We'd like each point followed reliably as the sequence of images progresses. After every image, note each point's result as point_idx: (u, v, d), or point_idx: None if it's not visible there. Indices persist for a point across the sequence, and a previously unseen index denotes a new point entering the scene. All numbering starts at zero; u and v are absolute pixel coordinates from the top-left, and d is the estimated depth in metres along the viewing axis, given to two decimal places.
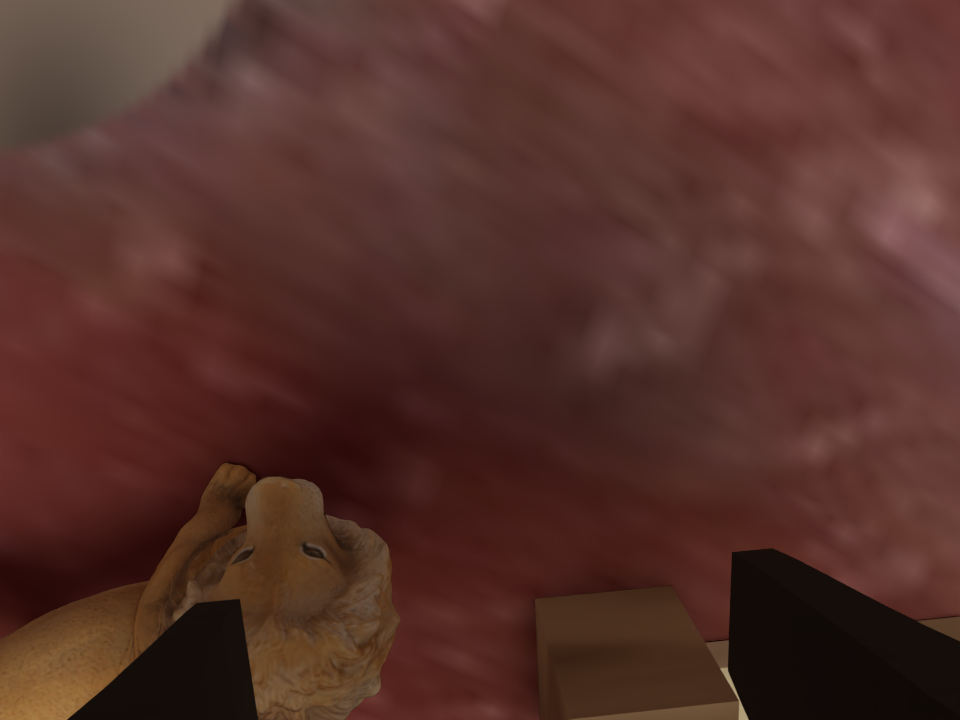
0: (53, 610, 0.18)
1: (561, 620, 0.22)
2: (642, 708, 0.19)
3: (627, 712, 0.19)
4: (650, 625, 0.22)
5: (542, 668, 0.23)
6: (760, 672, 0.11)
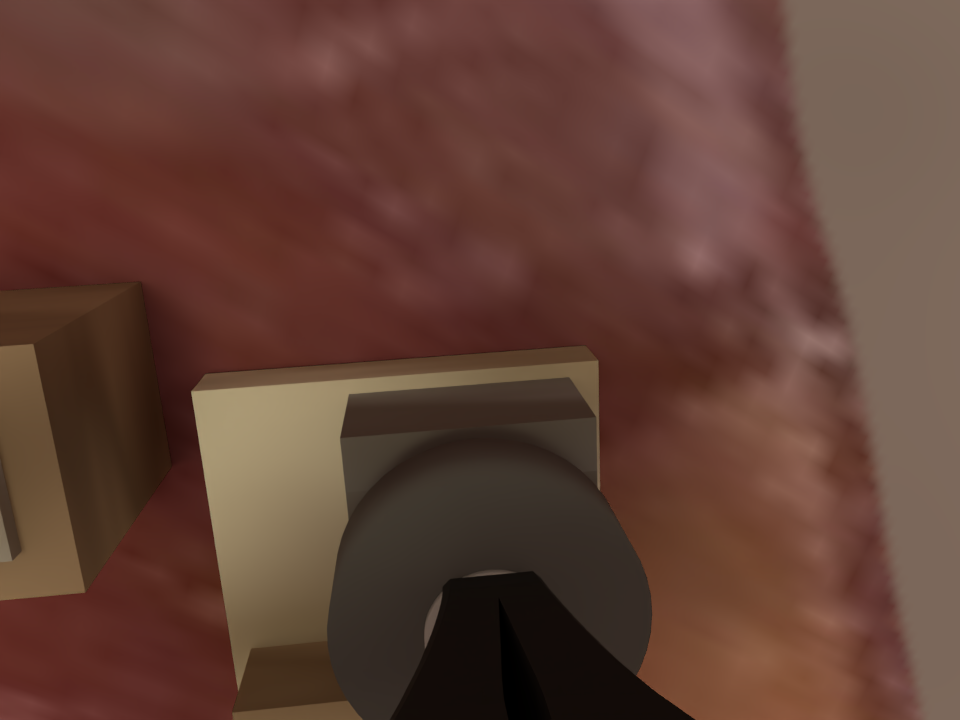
0: None
1: None
2: None
3: None
4: (42, 304, 0.14)
5: None
6: (505, 699, 0.11)
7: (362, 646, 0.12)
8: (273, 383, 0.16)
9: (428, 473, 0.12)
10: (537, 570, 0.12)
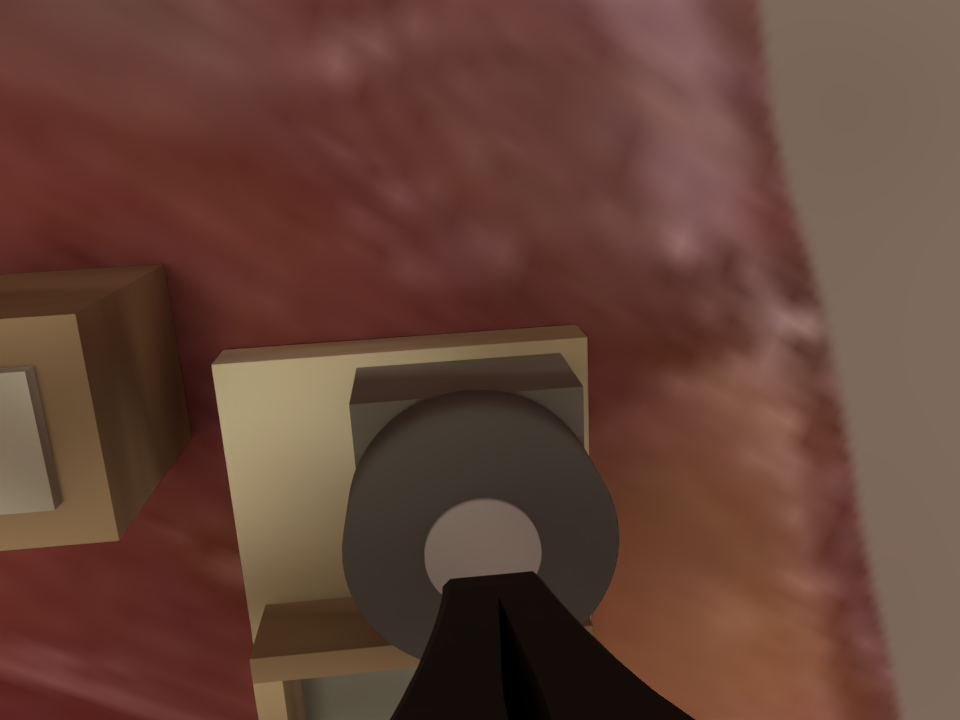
0: None
1: None
2: None
3: None
4: (77, 282, 0.16)
5: None
6: (505, 699, 0.11)
7: (372, 563, 0.14)
8: (286, 357, 0.17)
9: (428, 416, 0.14)
10: (520, 498, 0.14)
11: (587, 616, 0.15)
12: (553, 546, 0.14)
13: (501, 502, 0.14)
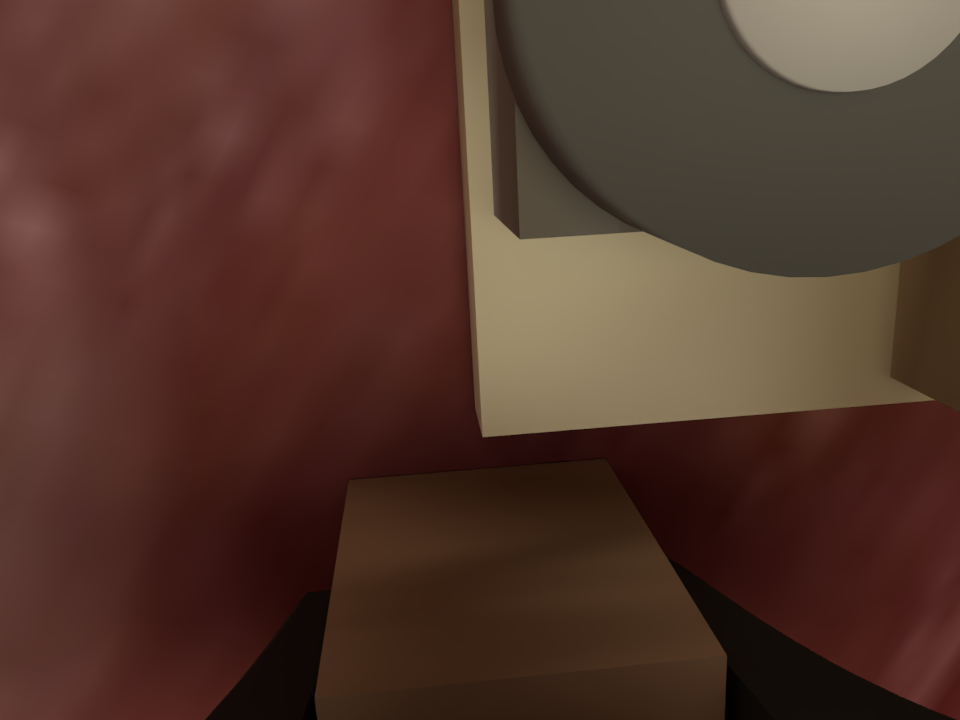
0: None
1: None
2: None
3: None
4: None
5: None
6: None
7: (837, 212, 0.06)
8: (475, 325, 0.11)
9: (524, 79, 0.07)
10: None
11: None
12: None
13: None
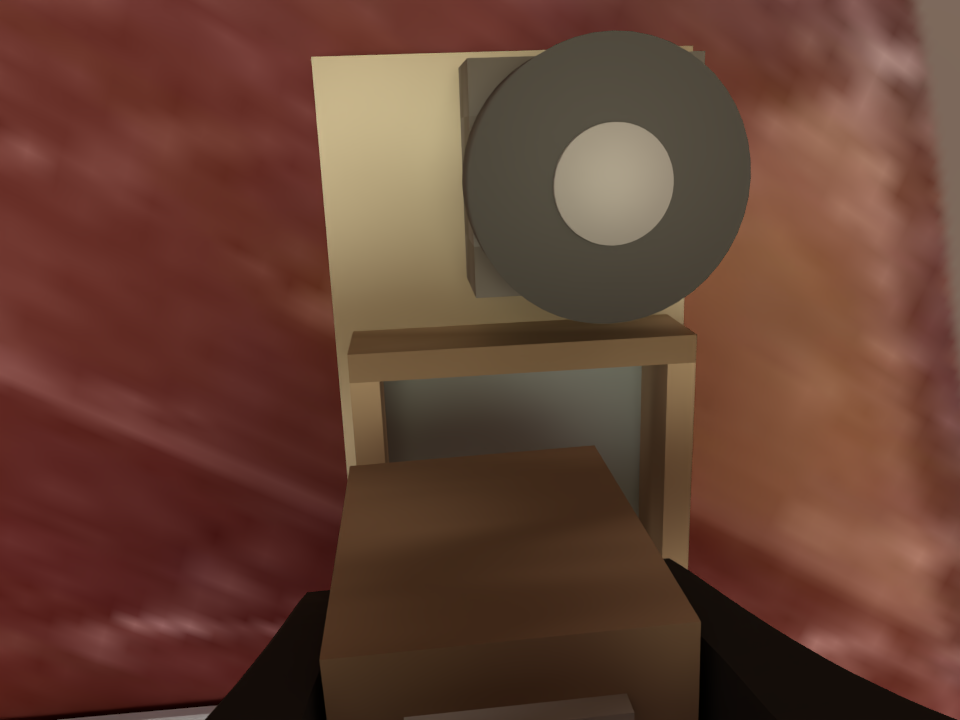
0: None
1: None
2: None
3: None
4: None
5: None
6: None
7: (499, 192, 0.14)
8: None
9: None
10: (653, 126, 0.13)
11: (713, 268, 0.14)
12: (683, 184, 0.14)
13: (636, 125, 0.13)
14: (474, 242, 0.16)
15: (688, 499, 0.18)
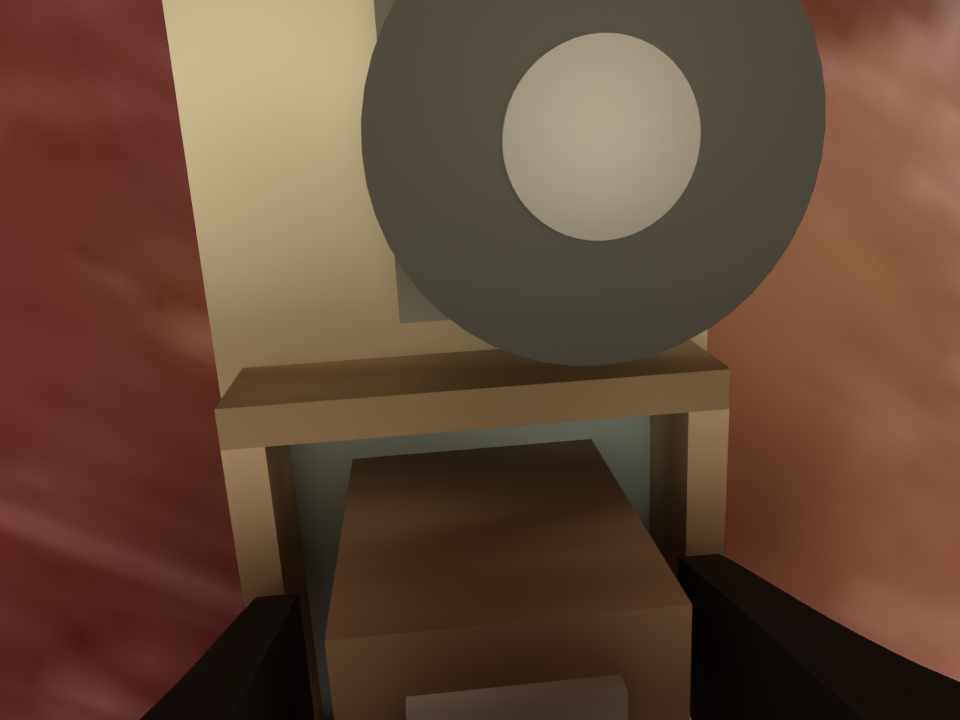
0: None
1: None
2: None
3: None
4: None
5: None
6: (702, 678, 0.11)
7: (412, 155, 0.08)
8: None
9: None
10: (666, 42, 0.08)
11: (764, 274, 0.09)
12: (716, 139, 0.08)
13: (636, 40, 0.08)
14: None
15: None
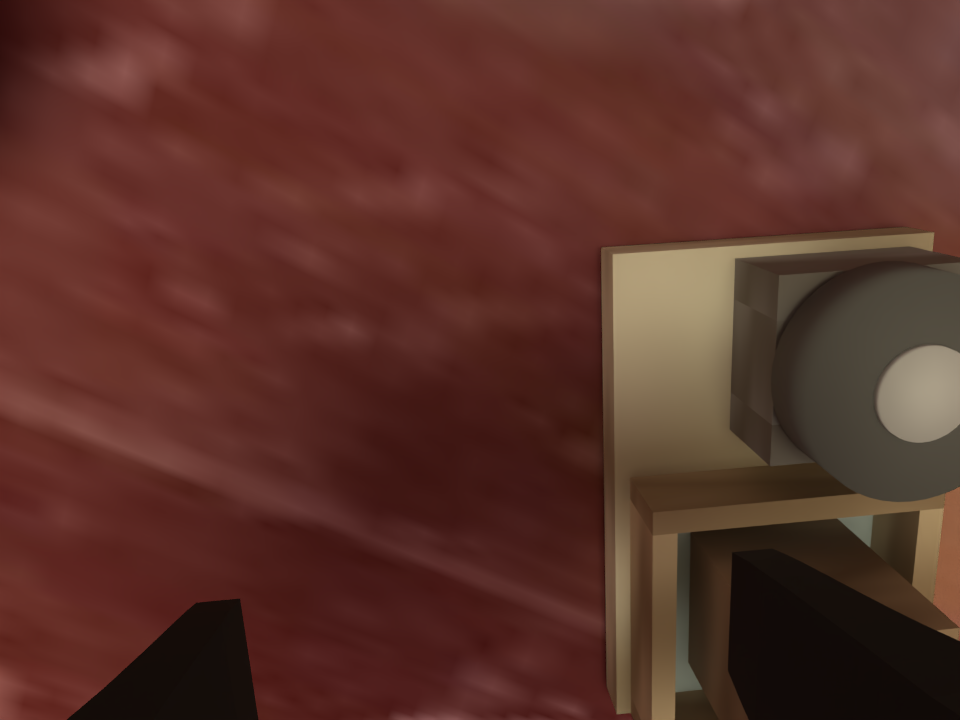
0: None
1: (703, 673, 0.21)
2: None
3: None
4: (714, 609, 0.20)
5: None
6: (760, 672, 0.11)
7: (830, 402, 0.16)
8: (675, 249, 0.20)
9: (875, 276, 0.16)
10: (959, 345, 0.16)
11: None
12: None
13: (947, 347, 0.16)
14: (771, 421, 0.18)
15: None
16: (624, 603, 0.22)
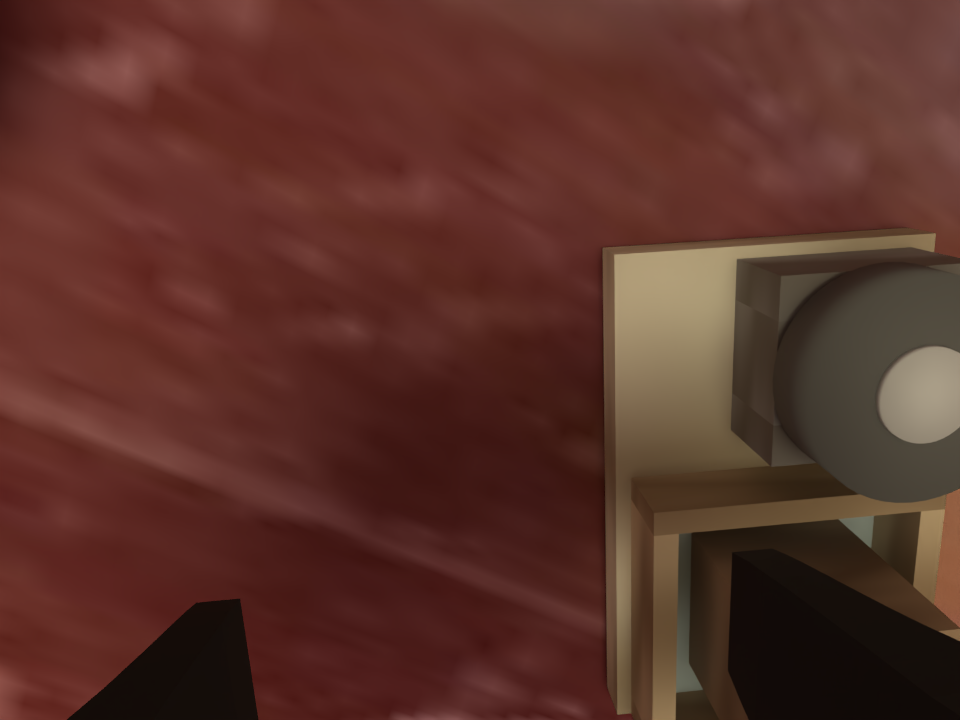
0: None
1: (704, 673, 0.21)
2: None
3: None
4: (715, 610, 0.20)
5: None
6: (760, 672, 0.11)
7: (831, 403, 0.16)
8: (676, 249, 0.20)
9: (877, 277, 0.16)
10: None
11: None
12: None
13: (949, 348, 0.16)
14: (773, 421, 0.18)
15: None
16: (625, 603, 0.22)
